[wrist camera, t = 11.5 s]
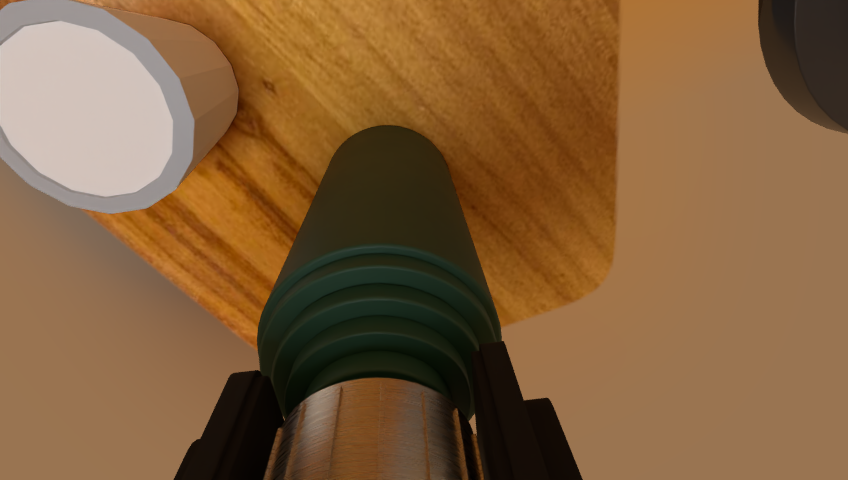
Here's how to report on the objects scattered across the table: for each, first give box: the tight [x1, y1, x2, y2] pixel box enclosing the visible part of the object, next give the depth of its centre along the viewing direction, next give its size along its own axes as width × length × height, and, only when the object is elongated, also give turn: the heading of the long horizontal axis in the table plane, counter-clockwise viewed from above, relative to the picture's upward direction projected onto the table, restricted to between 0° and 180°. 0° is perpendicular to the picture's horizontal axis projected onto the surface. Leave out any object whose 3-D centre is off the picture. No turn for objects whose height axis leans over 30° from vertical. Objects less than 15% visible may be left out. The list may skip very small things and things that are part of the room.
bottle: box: [257, 125, 502, 422], centre depth 15 cm, size 6×6×19 cm
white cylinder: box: [0, 0, 239, 214], centre depth 18 cm, size 7×7×7 cm
